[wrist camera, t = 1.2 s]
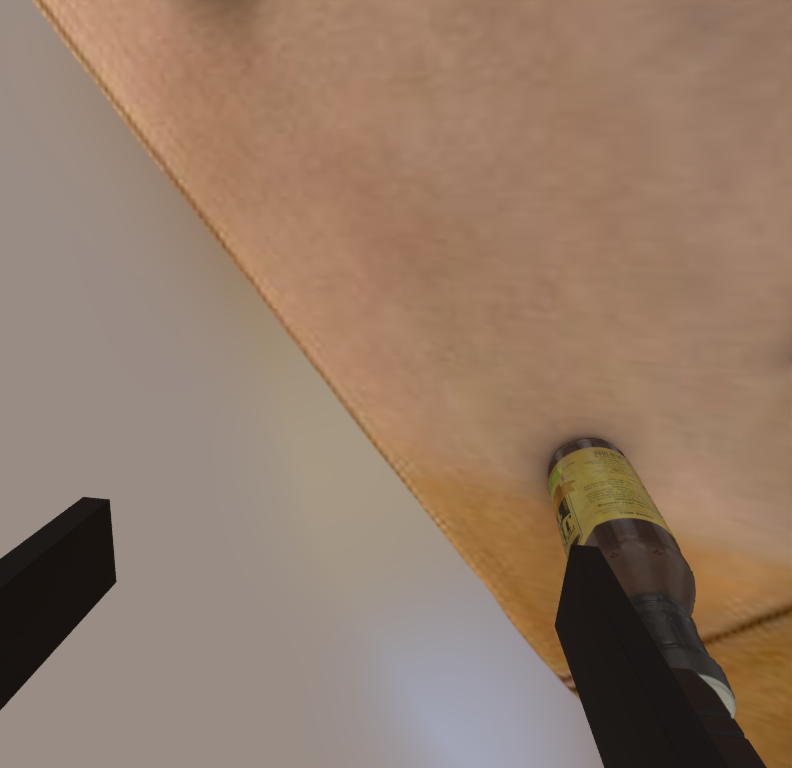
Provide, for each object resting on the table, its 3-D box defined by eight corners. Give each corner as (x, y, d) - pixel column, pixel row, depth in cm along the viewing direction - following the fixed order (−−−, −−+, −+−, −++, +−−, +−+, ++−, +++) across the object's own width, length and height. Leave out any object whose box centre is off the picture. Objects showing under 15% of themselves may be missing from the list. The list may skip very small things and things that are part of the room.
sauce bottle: (532, 452, 40) (581, 665, 21) (611, 422, 38) (739, 626, 19) (563, 517, 41) (635, 770, 23) (641, 491, 39) (787, 742, 21)
